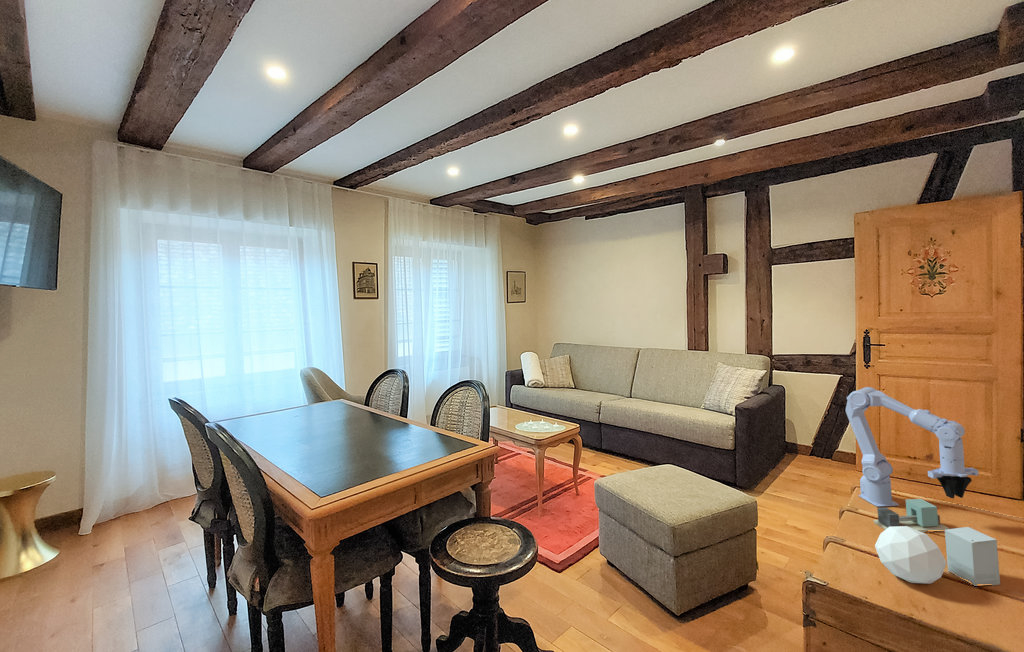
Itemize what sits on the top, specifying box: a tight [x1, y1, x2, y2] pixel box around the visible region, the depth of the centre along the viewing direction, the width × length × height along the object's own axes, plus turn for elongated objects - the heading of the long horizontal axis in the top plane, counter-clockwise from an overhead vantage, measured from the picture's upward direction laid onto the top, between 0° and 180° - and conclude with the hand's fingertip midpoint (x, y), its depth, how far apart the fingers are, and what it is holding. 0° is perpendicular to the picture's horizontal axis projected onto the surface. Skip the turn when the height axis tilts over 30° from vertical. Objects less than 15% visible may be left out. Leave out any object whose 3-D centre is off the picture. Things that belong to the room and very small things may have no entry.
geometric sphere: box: [874, 526, 948, 585], centre depth 120 cm, size 14×15×15 cm
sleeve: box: [905, 498, 939, 527], centre depth 144 cm, size 6×5×6 cm
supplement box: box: [944, 526, 1001, 587], centre depth 117 cm, size 7×7×13 cm
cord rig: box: [873, 507, 950, 533], centre depth 144 cm, size 8×18×6 cm, turn 86°
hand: (954, 496), depth 143 cm, fingers open, 2 cm apart
